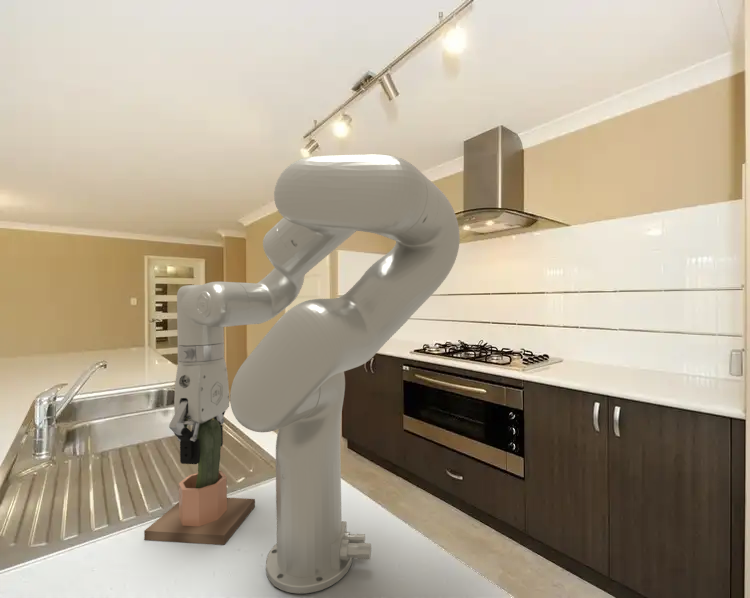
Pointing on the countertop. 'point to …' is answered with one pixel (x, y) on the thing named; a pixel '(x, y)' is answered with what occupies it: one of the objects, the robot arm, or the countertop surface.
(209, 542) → the stand
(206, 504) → the cup
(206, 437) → the vegetable
